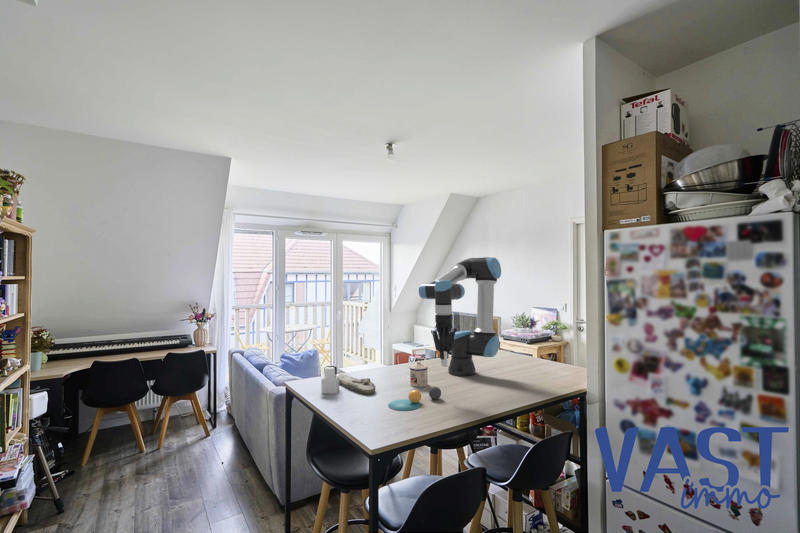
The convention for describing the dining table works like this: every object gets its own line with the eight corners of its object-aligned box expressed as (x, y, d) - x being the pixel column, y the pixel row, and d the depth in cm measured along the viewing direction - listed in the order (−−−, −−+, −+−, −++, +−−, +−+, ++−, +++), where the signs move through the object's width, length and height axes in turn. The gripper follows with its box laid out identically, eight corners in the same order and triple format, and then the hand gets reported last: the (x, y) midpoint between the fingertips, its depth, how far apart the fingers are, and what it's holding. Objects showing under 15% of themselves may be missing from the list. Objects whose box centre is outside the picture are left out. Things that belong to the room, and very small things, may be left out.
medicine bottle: (324, 389, 189) (324, 364, 189) (339, 389, 189) (339, 364, 189) (321, 394, 182) (321, 368, 182) (336, 394, 182) (336, 368, 182)
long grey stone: (346, 380, 211) (329, 384, 205) (345, 370, 211) (329, 374, 205) (381, 392, 183) (363, 397, 177) (380, 380, 183) (362, 385, 177)
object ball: (416, 386, 171) (405, 390, 169) (422, 390, 166) (411, 394, 164) (417, 398, 172) (407, 403, 169) (424, 402, 167) (413, 406, 164)
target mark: (410, 397, 175) (410, 397, 175) (427, 407, 162) (427, 406, 162) (382, 403, 168) (382, 402, 168) (398, 413, 156) (398, 412, 156)
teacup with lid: (406, 383, 197) (406, 360, 197) (422, 381, 201) (422, 358, 201) (418, 390, 186) (418, 365, 186) (434, 387, 190) (434, 363, 190)
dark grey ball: (427, 384, 173) (425, 397, 173) (435, 388, 169) (432, 400, 168) (437, 385, 176) (434, 397, 176) (444, 388, 172) (442, 401, 171)
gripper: (450, 312, 182) (451, 362, 182) (426, 314, 176) (427, 366, 176) (460, 313, 176) (461, 365, 175) (436, 315, 169) (437, 369, 169)
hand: (444, 366), depth 175 cm, fingers closed
